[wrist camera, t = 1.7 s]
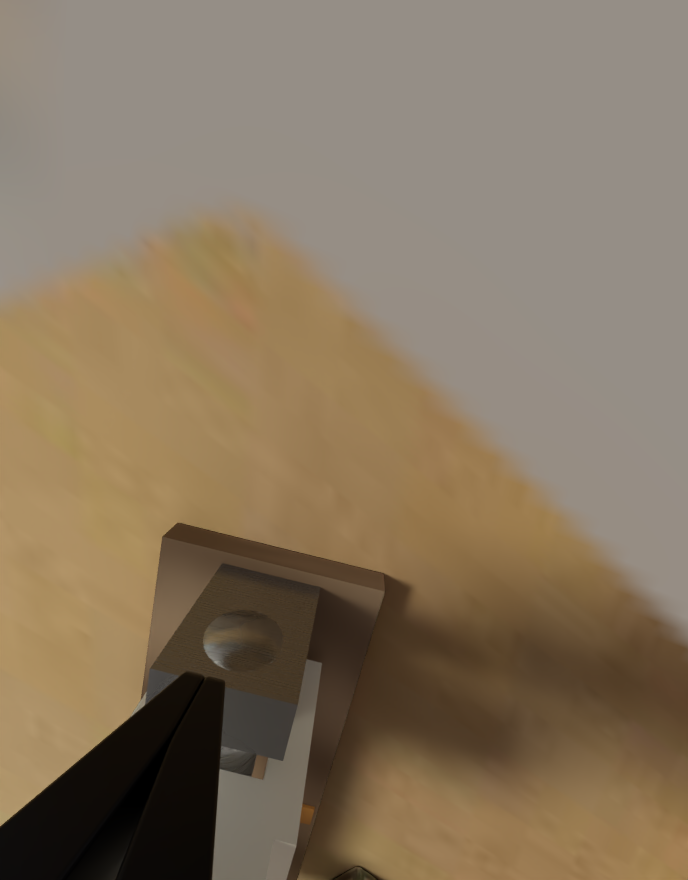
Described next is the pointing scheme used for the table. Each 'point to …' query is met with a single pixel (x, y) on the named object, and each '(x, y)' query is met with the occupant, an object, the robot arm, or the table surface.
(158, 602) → the base board
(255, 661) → the grey metal peg
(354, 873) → the food packaging
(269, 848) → the collar
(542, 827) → the table surface
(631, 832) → the table surface
